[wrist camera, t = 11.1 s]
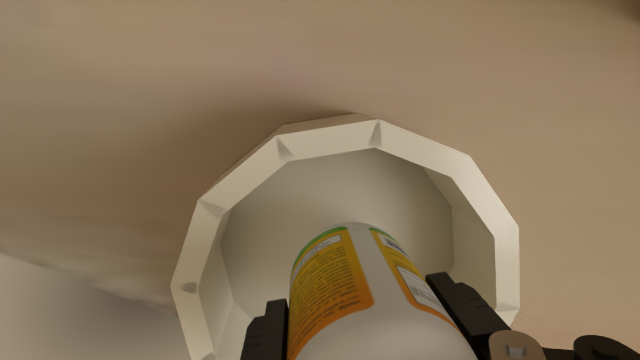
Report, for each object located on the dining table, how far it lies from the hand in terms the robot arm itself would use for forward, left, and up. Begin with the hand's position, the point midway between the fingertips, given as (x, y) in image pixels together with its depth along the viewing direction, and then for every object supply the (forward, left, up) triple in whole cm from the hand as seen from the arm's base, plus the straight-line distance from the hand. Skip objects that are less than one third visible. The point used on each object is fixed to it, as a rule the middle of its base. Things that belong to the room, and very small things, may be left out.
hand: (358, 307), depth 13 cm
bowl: (0, 0, -6) cm, 6 cm away
